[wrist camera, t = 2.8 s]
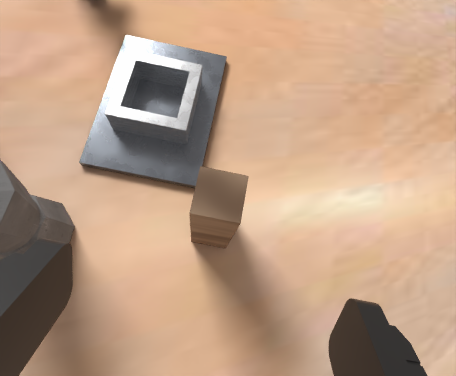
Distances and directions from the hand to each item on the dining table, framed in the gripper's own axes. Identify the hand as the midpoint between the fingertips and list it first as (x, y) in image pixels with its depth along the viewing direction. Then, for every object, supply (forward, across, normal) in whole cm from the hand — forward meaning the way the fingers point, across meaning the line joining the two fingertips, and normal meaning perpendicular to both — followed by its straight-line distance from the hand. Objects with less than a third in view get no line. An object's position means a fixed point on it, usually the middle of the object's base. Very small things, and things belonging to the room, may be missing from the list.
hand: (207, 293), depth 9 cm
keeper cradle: (+41, -11, -6) cm, 42 cm away
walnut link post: (+29, 0, -17) cm, 34 cm away
